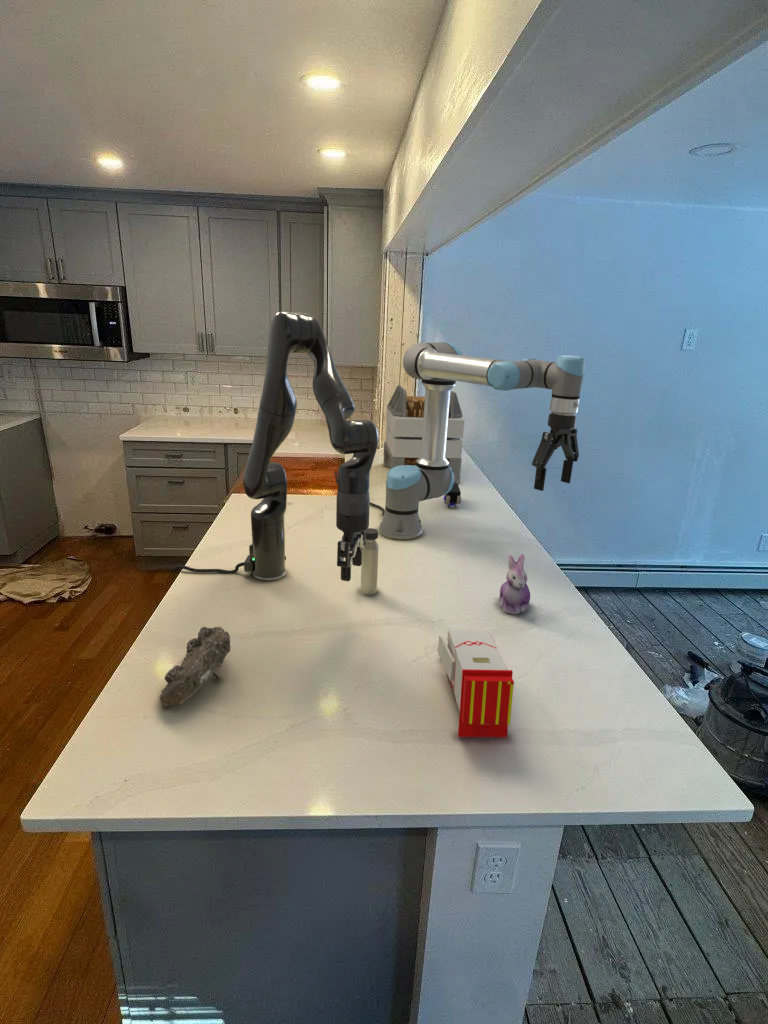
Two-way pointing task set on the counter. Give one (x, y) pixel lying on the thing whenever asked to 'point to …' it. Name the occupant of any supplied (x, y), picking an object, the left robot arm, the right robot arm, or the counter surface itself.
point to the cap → (371, 534)
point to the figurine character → (453, 496)
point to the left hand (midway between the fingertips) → (351, 572)
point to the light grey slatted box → (419, 431)
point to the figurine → (515, 588)
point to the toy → (478, 682)
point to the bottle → (369, 568)
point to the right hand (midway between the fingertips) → (552, 485)
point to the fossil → (196, 665)
